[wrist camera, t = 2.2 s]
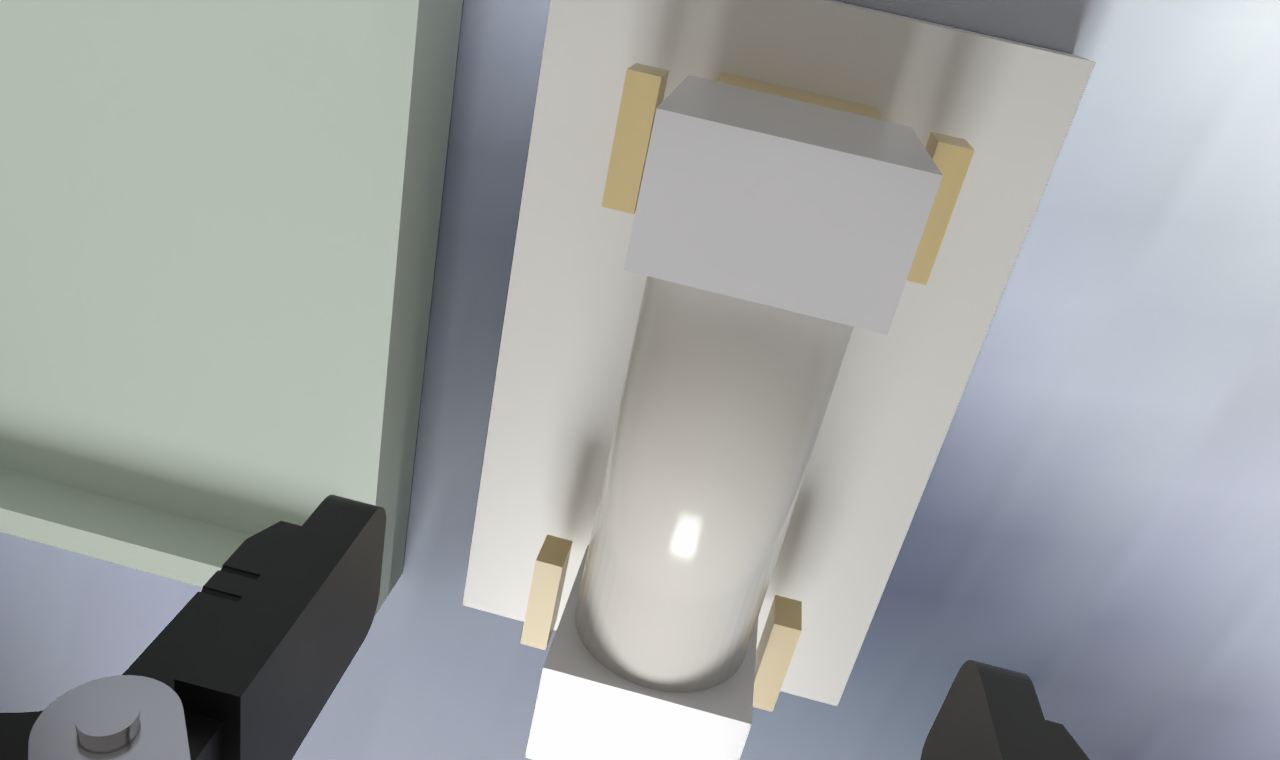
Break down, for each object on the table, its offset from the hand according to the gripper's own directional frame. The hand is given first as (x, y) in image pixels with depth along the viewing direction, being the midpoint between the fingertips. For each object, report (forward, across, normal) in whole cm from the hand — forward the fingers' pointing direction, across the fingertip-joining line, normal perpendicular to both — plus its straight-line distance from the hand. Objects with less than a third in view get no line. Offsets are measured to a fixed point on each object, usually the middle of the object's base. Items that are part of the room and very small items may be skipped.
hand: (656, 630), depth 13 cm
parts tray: (+10, +14, 0) cm, 17 cm away
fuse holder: (+10, 0, 0) cm, 10 cm away
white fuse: (+7, 0, 0) cm, 7 cm away
